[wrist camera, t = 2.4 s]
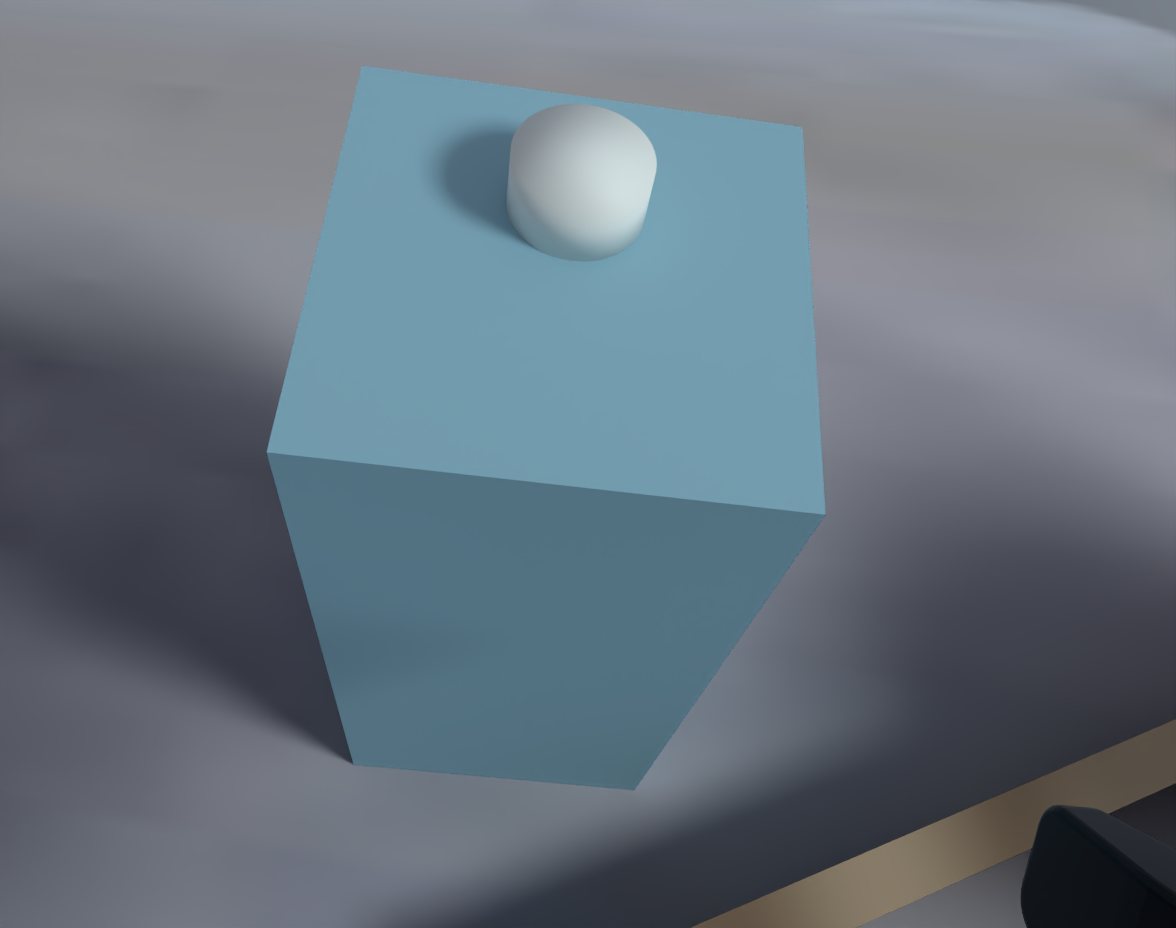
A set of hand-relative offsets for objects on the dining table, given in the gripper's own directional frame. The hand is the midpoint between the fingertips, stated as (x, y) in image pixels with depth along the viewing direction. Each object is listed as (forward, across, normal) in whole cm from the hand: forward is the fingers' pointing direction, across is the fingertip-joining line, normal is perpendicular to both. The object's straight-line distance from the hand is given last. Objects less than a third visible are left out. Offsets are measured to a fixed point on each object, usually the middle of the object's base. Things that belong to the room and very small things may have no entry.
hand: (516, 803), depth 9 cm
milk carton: (+13, 0, +4) cm, 13 cm away
